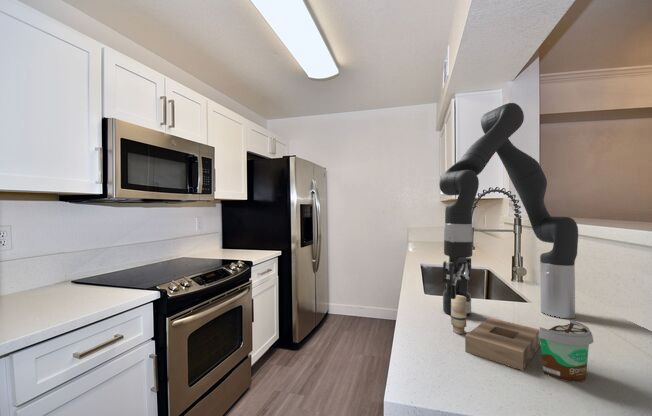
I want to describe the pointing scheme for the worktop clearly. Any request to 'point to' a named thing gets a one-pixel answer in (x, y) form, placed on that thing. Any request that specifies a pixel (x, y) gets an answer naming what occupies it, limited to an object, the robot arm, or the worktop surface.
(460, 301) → the peg
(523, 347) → the board
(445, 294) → the ink bottle
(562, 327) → the food container
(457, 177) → the robot arm
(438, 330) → the worktop surface
